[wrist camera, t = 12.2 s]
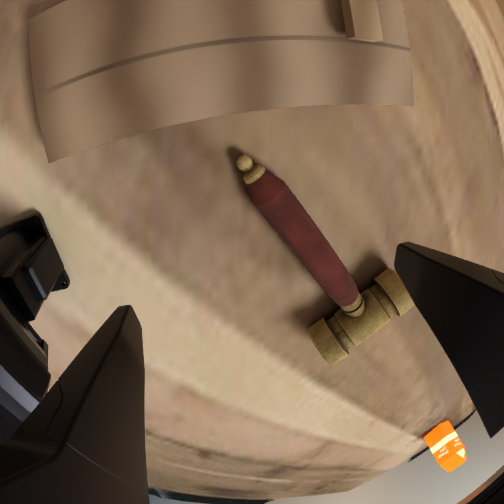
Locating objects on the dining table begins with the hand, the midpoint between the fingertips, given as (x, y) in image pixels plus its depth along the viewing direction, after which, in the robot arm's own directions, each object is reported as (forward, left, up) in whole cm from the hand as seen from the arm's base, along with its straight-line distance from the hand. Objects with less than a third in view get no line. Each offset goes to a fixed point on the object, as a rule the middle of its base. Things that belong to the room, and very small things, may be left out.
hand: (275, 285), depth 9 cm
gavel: (+6, -8, -13) cm, 16 cm away
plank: (+1, +9, -12) cm, 15 cm away
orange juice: (+60, -98, -12) cm, 116 cm away
